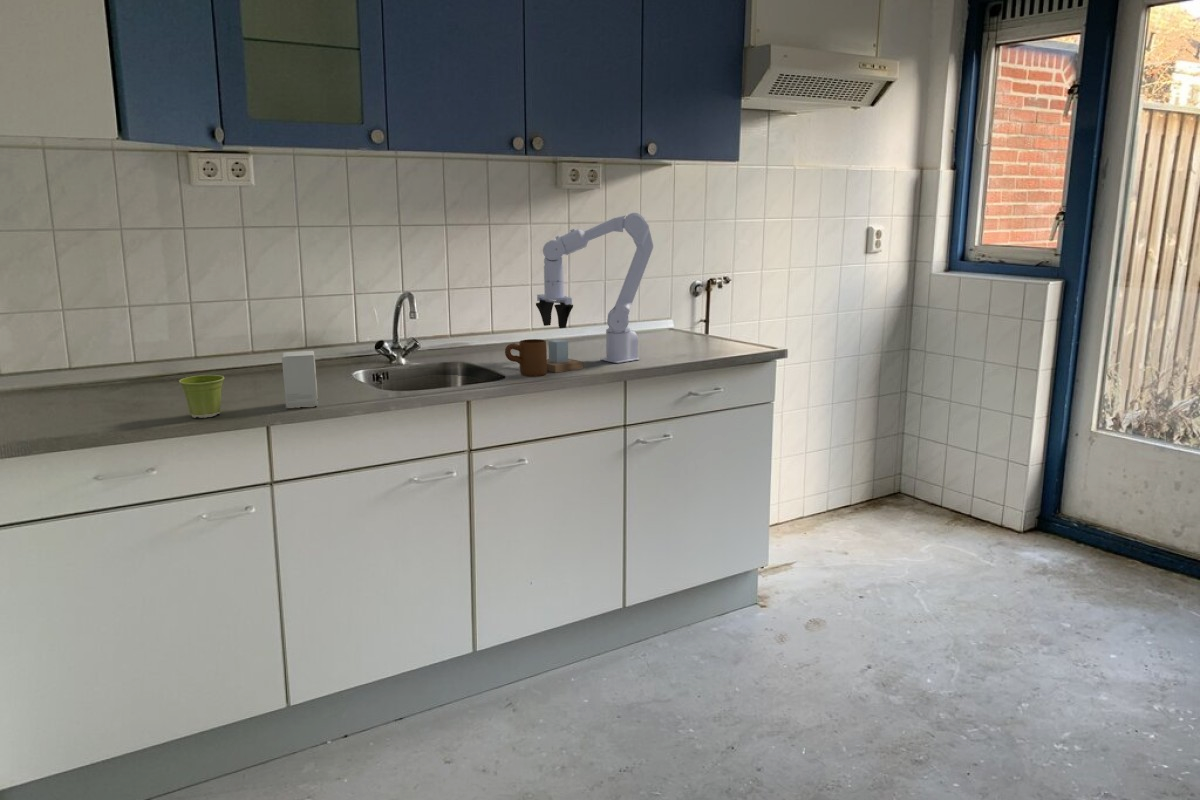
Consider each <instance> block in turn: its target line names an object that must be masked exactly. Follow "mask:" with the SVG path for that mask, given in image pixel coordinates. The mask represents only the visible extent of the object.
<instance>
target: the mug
mask: <svg viewBox="0 0 1200 800" xmlns="http://www.w3.org/2000/svg"><path fill="white" fill-rule="evenodd" d="M547 348H548V347H547V341H546V340H544V339H540V338H539V339H538V338H537V339H536V338H535V339H534V338H533V339H530V338H529V339H523V340H520V341H519V343H518V344H517V343H509V344H508V345H507V346H506V347H505V348H504V355H505V357H506V358H507V360H509V361H511V362H515V363H518V364H519V373H520V375H521V376H524V377H542V376H545V375H546V374H547V372H548V371H547V359H548V356H547V355H548V354H547V352H548V351H547ZM511 350H515V351H518V354H519V355H513V354H512V351H511Z"/></svg>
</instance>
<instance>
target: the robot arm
mask: <svg viewBox="0 0 1200 800" xmlns="http://www.w3.org/2000/svg"><path fill="white" fill-rule="evenodd" d="M624 230H625V232H626V233H627V234H628V235H629V236H630V237H631V238H632V240H633V242H634V244H635V247H636V250H635V251H634V254H633V257H632V260H631V262H630V266H629V268H628V270H627V274H626V275H625V279H624V280H623V281H624V282H623V284H622V287H621V289H620V292H619V295H618V297H617V299H616V302H615V305H614V306H613V308H611V310H610V311H609V312H608V314H607V319H606V320H607V327H608V328H607V329H605V336H606V337H605V340H606V342H605V347H606V348H605V349H606V350H605V351H606V352H605V354H606V357H601V358H600V361H604V362H609V363H615V364H620V363H627V362H632V361H639V360H640V359H641V358H640V357H639V337H638V334H637V332H636V331H634V330H632V329H631V328H629V321H630V320H629V315H630V312H631V311H630V310H631V308H632V305H633V303H634V300H635V297H636V295H637V292H638V289H639V286H640V283H641V281H642V279H643V276H644V273H645V271H646V268H647V265H648V263H649V260H650V257H651V255H652V253H653V249H654V243H653V242H654V241H653V239H652V234H651V231H650V225H649V224H648V222H647V220H646V219H645V217H644V216H643V215H642V214H641V213H638V212H631V213H629V214H627V216H626V214H625V215H621V216H617V217H613V218H610V219H608V220H606V221H604V222H601V223H600V224H597V225H595V226H593V227H592V228H591V227H590V228H589V229H587V230H582V229H580V228H577V229H575V228H571V229H570V232H568V233H566V234H563V235H561V236H559V235H557V236H555V239H556V240H554V239H551V240H549V241H547V242H546V243H545V244H544V245H543V248H542V252H543V255H544V259H543V263H544V266H543V281H544V283H543V284H544V289H543V290H544V294H543V293H542V294H541V293H539V294H536V296H537V297H536V298H537V300H536V301H537V302H535V306H536V308H537V310H538V311H539V314H540V317H541V321H542V324H543V326H544V327H545V326H546V327H547V326H551V323H552V313H553V308H554V309H555V311H556V315H557V322H558V323H557V324H558V328H559V329H566V328H567V324H568V320H569V318H570V317H569V316H570V314H571V311H572V310H573V308H574V304H573V297H570V296H566V295H565V293H564V291H565V290H564V286H565V285H564V264H563V255H565V256H568V255H571V254H573V253H576V252H577V251H581V250H583V249H585V248H587V245H588V243H589V242H590V241H592V240H595V239H598V238H599V237H602V236H604V235H606V234H610V233H612V232H617V233H624Z"/></svg>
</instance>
